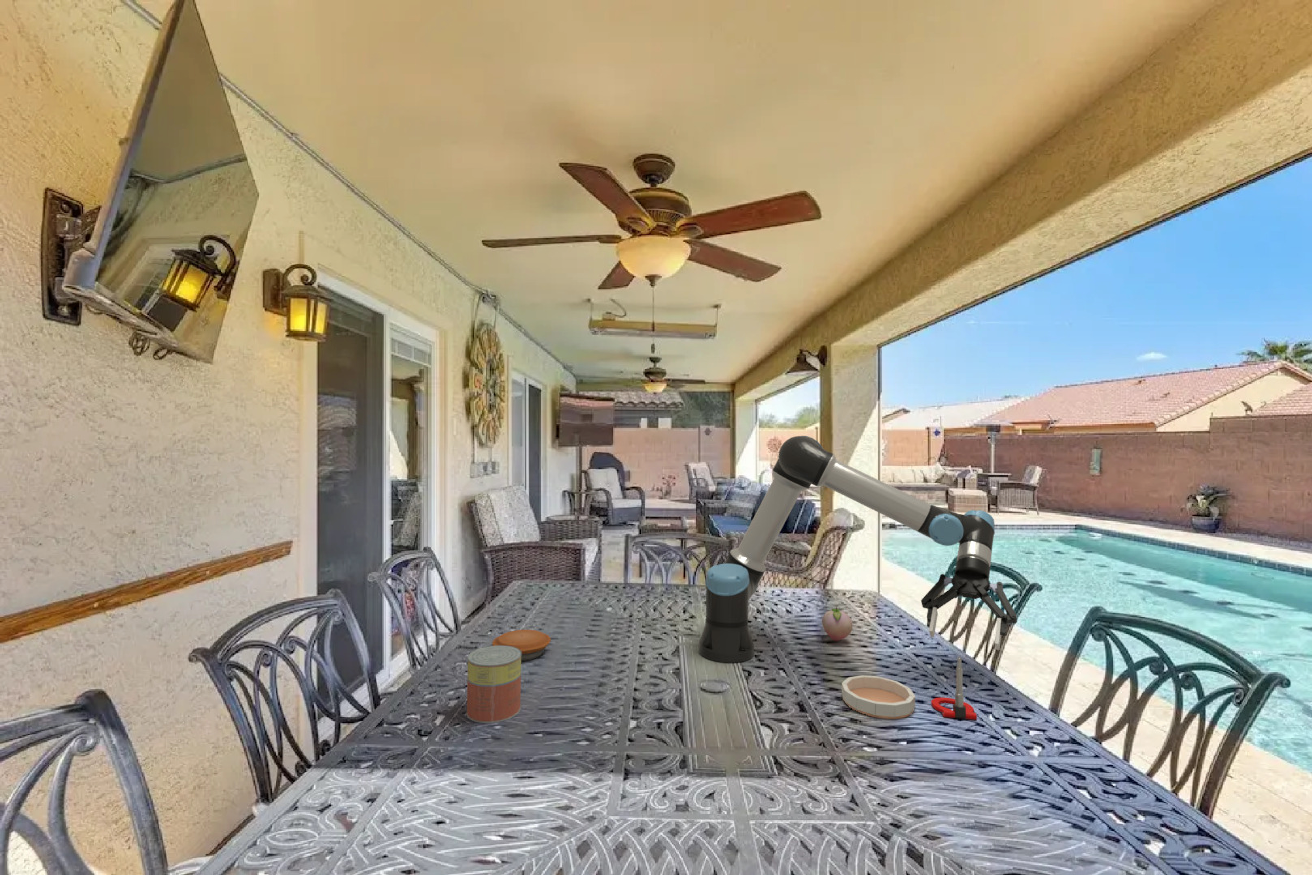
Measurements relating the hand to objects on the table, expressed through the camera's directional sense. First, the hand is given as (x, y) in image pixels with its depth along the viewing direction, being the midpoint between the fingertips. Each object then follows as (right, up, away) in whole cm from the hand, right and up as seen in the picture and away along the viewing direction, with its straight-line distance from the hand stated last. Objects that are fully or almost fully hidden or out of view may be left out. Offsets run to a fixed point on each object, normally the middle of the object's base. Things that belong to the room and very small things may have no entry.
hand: (963, 640), depth 134 cm
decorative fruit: (-18, -13, +36) cm, 43 cm away
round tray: (-21, -13, -4) cm, 25 cm away
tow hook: (-6, -14, -6) cm, 16 cm away
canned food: (-107, -12, -10) cm, 108 cm away
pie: (-108, -12, +23) cm, 111 cm away
